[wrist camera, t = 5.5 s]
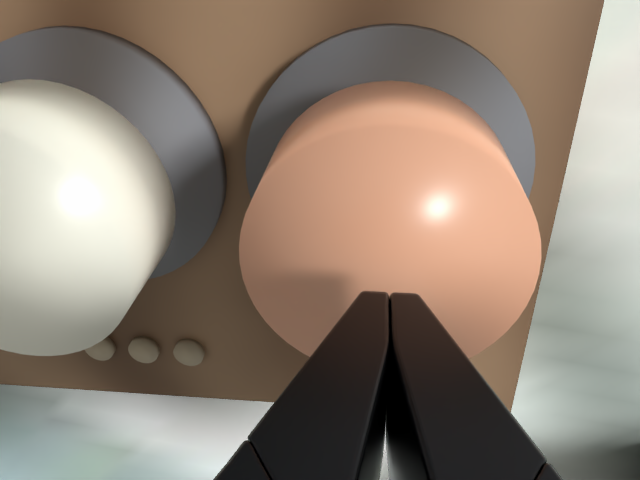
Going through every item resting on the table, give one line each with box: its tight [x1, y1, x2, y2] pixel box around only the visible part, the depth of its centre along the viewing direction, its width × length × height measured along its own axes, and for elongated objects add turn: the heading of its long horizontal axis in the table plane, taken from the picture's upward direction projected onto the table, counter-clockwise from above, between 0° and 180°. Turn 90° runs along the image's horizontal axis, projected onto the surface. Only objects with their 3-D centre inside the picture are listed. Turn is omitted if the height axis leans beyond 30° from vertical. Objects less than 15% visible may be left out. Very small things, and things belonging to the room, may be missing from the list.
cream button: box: [0, 79, 176, 356], centre depth 11 cm, size 5×5×2 cm
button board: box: [0, 0, 604, 412], centre depth 15 cm, size 22×13×2 cm, turn 91°
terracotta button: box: [239, 81, 541, 358], centre depth 10 cm, size 5×5×2 cm
